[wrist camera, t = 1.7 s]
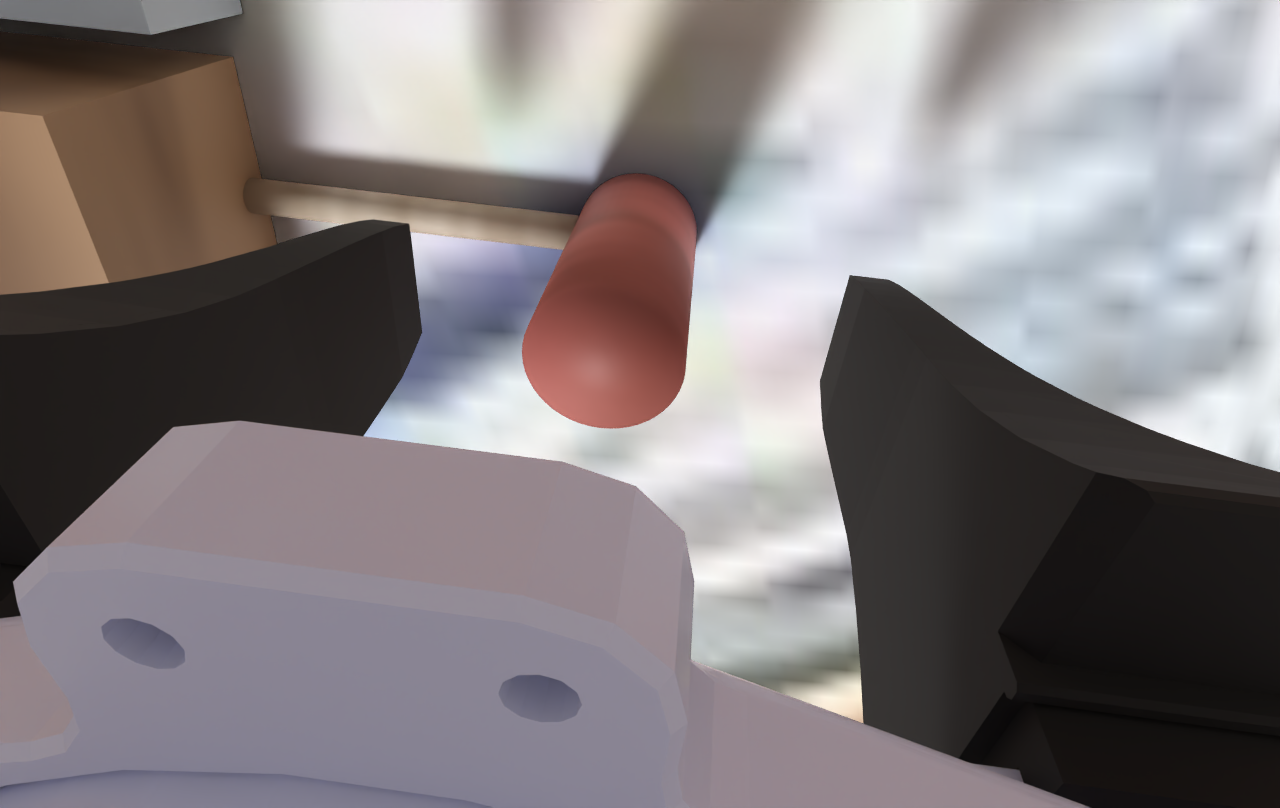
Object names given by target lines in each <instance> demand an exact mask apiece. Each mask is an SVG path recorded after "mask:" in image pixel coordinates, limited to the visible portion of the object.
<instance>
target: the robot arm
mask: <svg viewBox="0 0 1280 808" xmlns="http://www.w3.org/2000/svg"><path fill="white" fill-rule="evenodd" d="M421 334H422V327H421V319H420V310H419V302H418V293H417V285H416V276H415V268H414V259H413V251H412V242H411V234H410V225H409V223H400V222H392V221H383V220H375V219H371V220H362V221H356V222H352V223H347V224H343V225H340V226H336V227H332V228H329V229H325V230H322V231H319V232H315V233H312V234H309V235H305V236H302V237H299V238H296V239H292V240H289V241H286V242H283V243H279V244H276V245H273V246H270V247H266V248H263V249H259V250H255V251H252V252H248V253H245V254H241V255H237V256H234V257H230V258H226V259H223V260H219V261H215V262H212V263H208V264H204V265H200V266H196V267H192V268H187V269H183V270H178V271H173V272H169V273H163V274H158V275H153V276H147V277H142V278H137V279H131V280H125V281H119V282H112V283H104V284H96V285H88V286H80V287H72V288H64V289H56V290H48V291H40V292H29V293H16V294H3V295H0V808H1280V472H1277V471H1273V470H1269V469H1266V468H1262V467H1258V466H1255V465H1251V464H1248V463H1245V462H1242V461H1239V460H1236V459H1233V458H1230V457H1227V456H1224V455H1221V454H1218V453H1215V452H1212V451H1209V450H1206V449H1203V448H1200V447H1197V446H1194V445H1191V444H1188V443H1185V442H1182V441H1180V440H1177V439H1174V438H1171V437H1169V436H1166V435H1163V434H1161V433H1158V432H1155V431H1153V430H1150V429H1147V428H1145V427H1143V426H1140V425H1138V424H1135V423H1133V422H1131V421H1128V420H1126V419H1124V418H1121V417H1119V416H1116V415H1114V414H1112V413H1109V412H1107V411H1105V410H1102V409H1100V408H1098V407H1096V406H1093V405H1091V404H1089V403H1087V402H1085V401H1083V400H1080V399H1078V398H1076V397H1074V396H1072V395H1070V394H1068V393H1067V392H1065V391H1063V390H1061V389H1059V388H1057V387H1055V386H1053V385H1051V384H1049V383H1047V382H1045V381H1043V380H1042V379H1040V378H1038V377H1036V376H1034V375H1032V374H1031V373H1029V372H1027V371H1025V370H1024V369H1022V368H1020V367H1018V366H1017V365H1015V364H1013V363H1012V362H1010V361H1009V360H1007V359H1006V358H1004V357H1002V356H1001V355H999V354H998V353H996V352H994V351H993V350H991V349H990V348H988V347H987V346H985V345H984V344H982V343H981V342H979V341H978V340H976V339H975V338H973V337H972V336H970V335H969V334H967V333H966V332H965V331H963V330H962V329H960V328H959V327H957V326H956V325H955V324H953V323H952V322H951V321H949V320H948V319H946V318H945V317H944V316H942V315H941V314H940V313H938V312H937V311H935V310H934V309H933V308H931V307H930V306H929V305H927V304H926V303H924V302H923V301H922V300H920V299H919V298H918V297H916V296H915V295H913V294H912V293H910V292H909V291H907V290H906V289H904V288H903V287H901V286H900V285H898V284H896V283H894V282H892V281H890V280H886V279H878V278H869V277H861V276H852V275H850V276H849V280H848V284H847V287H846V291H845V294H844V298H843V301H842V305H841V308H840V312H839V315H838V319H837V323H836V326H835V330H834V333H833V337H832V340H831V344H830V347H829V351H828V355H827V358H826V362H825V365H824V369H823V372H822V376H821V379H820V390H821V410H822V423H823V431H824V436H825V441H826V446H827V450H828V455H829V459H830V464H831V468H832V473H833V477H834V481H835V486H836V490H837V494H838V499H839V503H840V507H841V512H842V516H843V521H844V525H845V529H846V534H847V539H848V545H849V551H850V556H851V565H852V575H853V585H854V595H855V605H856V615H857V628H858V641H859V654H860V667H861V685H862V704H863V722H864V724H863V723H860V722H858V721H855V720H852V719H850V718H847V717H844V716H841V715H839V714H836V713H833V712H831V711H828V710H825V709H822V708H820V707H817V706H814V705H812V704H809V703H806V702H804V701H801V700H798V699H795V698H793V697H790V696H787V695H785V694H782V693H779V692H776V691H774V690H771V689H768V688H766V687H763V686H760V685H758V684H755V683H752V682H749V681H747V680H744V679H741V678H739V677H736V676H733V675H730V674H728V673H725V672H722V671H720V670H717V669H714V668H712V667H709V666H706V665H703V664H701V663H698V662H695V661H693V660H691V640H692V618H693V596H694V578H693V573H692V568H691V563H690V558H689V553H688V548H687V543H686V538H685V533H684V531H683V530H682V529H681V528H680V527H679V526H678V525H676V524H675V523H674V522H673V521H672V520H671V519H670V518H669V517H668V516H667V515H666V514H665V513H664V512H663V511H662V510H661V509H660V508H658V507H657V506H656V505H655V504H654V503H653V502H652V501H651V500H650V499H649V498H648V497H647V496H646V495H645V494H644V493H643V492H642V491H640V490H639V489H638V488H637V487H636V486H633V485H630V484H627V483H624V482H621V481H618V480H615V479H612V478H609V477H606V476H603V475H600V474H597V473H594V472H591V471H588V470H586V469H583V468H580V467H577V466H574V465H571V464H568V463H565V462H560V461H552V460H544V459H536V458H528V457H521V456H513V455H505V454H497V453H489V452H481V451H474V450H466V449H458V448H450V447H442V446H434V445H426V444H419V443H411V442H403V441H395V440H387V439H379V438H372V437H364V434H365V433H366V431H367V430H368V428H369V427H370V425H371V424H372V422H373V421H374V419H375V418H376V417H377V415H378V414H379V412H380V411H381V409H382V408H383V406H384V405H385V403H386V401H387V400H388V398H389V397H390V395H391V394H392V392H393V391H394V389H395V388H396V386H397V385H398V383H399V381H400V380H401V378H402V377H403V375H404V373H405V370H406V368H407V366H408V364H409V362H410V360H411V358H412V355H413V353H414V350H415V348H416V346H417V343H418V341H419V339H420V336H421Z"/></svg>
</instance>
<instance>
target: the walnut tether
mask: <svg viewBox="0 0 1280 808" xmlns="http://www.w3.org/2000/svg"><path fill="white" fill-rule="evenodd" d="M270 215H271V216H280V217H288V218H297V219H305V220H314V221H322V222H331V223H339V224H347V223H352V222H356V221H362V220H371V219H375V220H383V221H392V222H400V223H409V225H410V232H416V233H424V234H433V235H441V236H450V237H458V238H467V239H475V240H484V241H492V242H501V243H509V244H518V245H526V246H535V247H543V248H552V249H561V250H563V252H562V254H561V256H560V258H559V261H558V263H557V265H556V267H555V269H554V271H553V273H552V276H551V278H550V280H549V282H548V284H547V286H546V289H545V291H544V293H543V295H542V297H541V299H540V301H539V304H538V306H537V308H536V310H535V312H534V314H533V316H532V319H531V321H530V323H529V325H528V327H527V330H526V333H525V335H524V340H523V346H522V357H523V364H524V368H525V372H526V374H527V377H528V379H529V381H530V383H531V385H532V387H533V388H534V390H535V391H536V392H537V394H538V395H539V396H540V397H541V398H542V399H543V400H544V402H545V403H547V404H548V405H549V406H550V407H551V408H552V409H554V410H555V411H557V412H558V413H560V414H561V415H563V416H565V417H567V418H569V419H571V420H573V421H576V422H578V423H581V424H585V425H588V426H593V427H598V428H624V427H630V426H634V425H638V424H641V423H643V422H646V421H648V420H650V419H652V418H654V417H656V416H657V415H658V414H660V413H661V412H663V411H664V410H665V409H666V408H667V407H668V406H669V405H670V404H671V403H672V401H673V400H674V399H675V398H676V396H677V394H678V392H679V391H680V389H681V386H682V383H683V380H684V376H685V369H686V357H687V345H688V333H689V321H690V309H691V297H692V285H693V273H694V261H695V249H696V237H697V228H696V221H695V217H694V214H693V211H692V209H691V207H690V205H689V203H688V201H687V200H686V199H685V197H684V196H683V195H682V194H681V193H680V192H679V191H678V190H677V189H676V188H675V187H674V186H673V185H671V184H669V183H668V182H666V181H664V180H662V179H660V178H658V177H655V176H652V175H647V174H637V173H633V174H625V175H620V176H617V177H614V178H611V179H610V180H608V181H606V182H604V183H603V184H601V185H600V186H599V187H598V188H597V189H596V190H595V191H593V193H592V194H591V195H590V196H589V198H588V199H587V201H586V203H585V205H584V207H583V209H582V211H581V213H580V215H579V217H578V215H571V214H562V213H554V212H545V211H537V210H528V209H519V208H511V207H502V206H493V205H485V204H476V203H468V202H459V201H450V200H442V199H433V198H424V197H416V196H407V195H398V194H390V193H381V192H373V191H364V190H355V189H347V188H338V187H329V186H321V185H312V184H304V183H295V182H286V181H278V180H269V179H262V177H261V173H260V169H259V165H258V160H257V156H256V152H255V148H254V144H253V139H252V135H251V131H250V127H249V122H248V118H247V114H246V110H245V105H244V101H243V97H242V93H241V88H240V84H239V80H238V76H237V72H236V67H235V63H234V59H233V57H230V56H221V55H212V54H203V53H194V52H185V51H176V50H167V49H158V48H149V47H140V46H131V45H122V44H112V43H103V42H94V41H85V40H76V39H67V38H58V37H49V36H40V35H31V34H22V33H13V32H3V31H0V295H3V294H16V293H29V292H40V291H48V290H56V289H64V288H72V287H80V286H88V285H96V284H104V283H112V282H119V281H125V280H131V279H137V278H142V277H147V276H153V275H158V274H163V273H169V272H173V271H178V270H183V269H187V268H192V267H196V266H200V265H204V264H208V263H212V262H215V261H219V260H223V259H226V258H230V257H234V256H237V255H241V254H245V253H248V252H252V251H255V250H259V249H263V248H266V247H270V246H273V245H276V244H277V241H276V237H275V232H274V228H273V224H272V220H271V216H270Z"/></svg>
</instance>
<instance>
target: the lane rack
mask: <svg viewBox="0 0 1280 808" xmlns="http://www.w3.org/2000/svg"><path fill="white" fill-rule="evenodd" d="M239 14H243V12H242V7H241V3H240V0H0V18H1V19H10V20H19V21H29V22H38V23H47V24H56V25H65V26H75V27H84V28H93V29H102V30H111V31H120V32H130V33H139V34H148V35H152V34H157V33H161V32H165V31H170V30H174V29H178V28H183V27H187V26H191V25H196V24H200V23H204V22H209V21H213V20H218V19H222V18H226V17H231V16H235V15H239Z"/></svg>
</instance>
